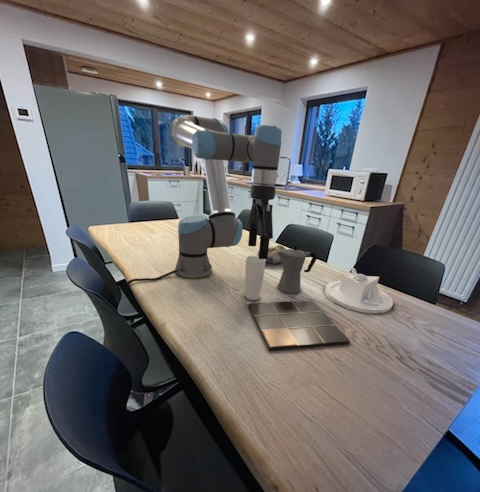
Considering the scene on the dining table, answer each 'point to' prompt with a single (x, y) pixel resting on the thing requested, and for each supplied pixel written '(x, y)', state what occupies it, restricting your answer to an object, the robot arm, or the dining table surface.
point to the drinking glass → (254, 277)
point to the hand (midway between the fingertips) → (257, 252)
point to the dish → (359, 293)
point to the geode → (274, 254)
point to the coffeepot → (293, 268)
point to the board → (295, 325)
